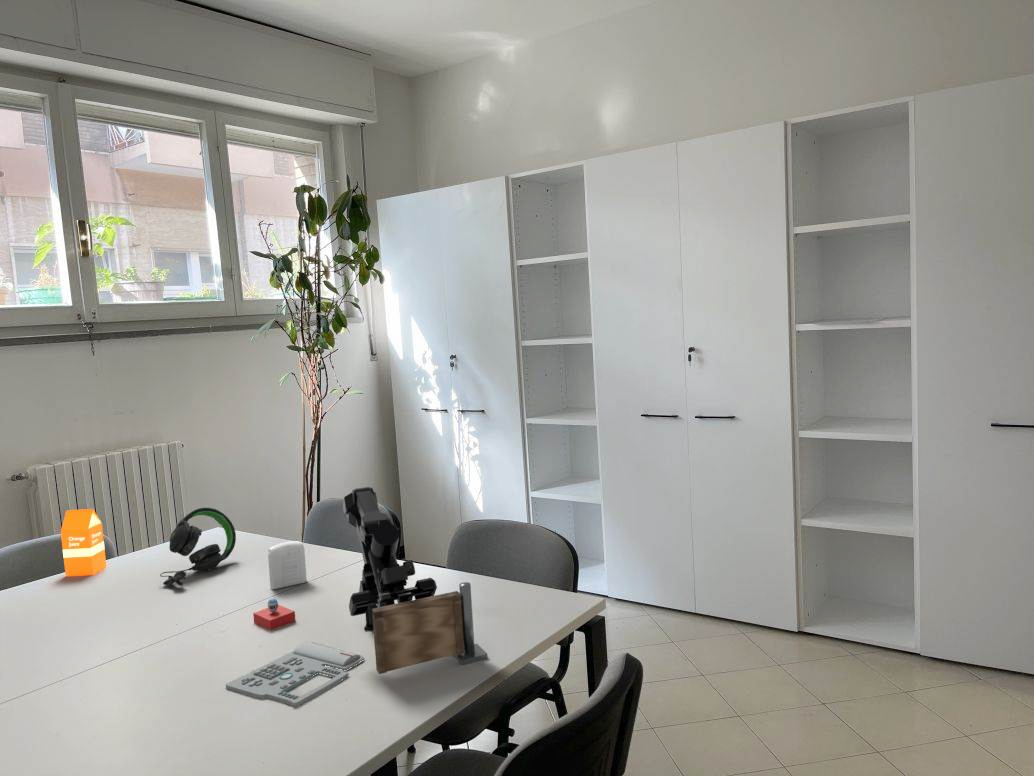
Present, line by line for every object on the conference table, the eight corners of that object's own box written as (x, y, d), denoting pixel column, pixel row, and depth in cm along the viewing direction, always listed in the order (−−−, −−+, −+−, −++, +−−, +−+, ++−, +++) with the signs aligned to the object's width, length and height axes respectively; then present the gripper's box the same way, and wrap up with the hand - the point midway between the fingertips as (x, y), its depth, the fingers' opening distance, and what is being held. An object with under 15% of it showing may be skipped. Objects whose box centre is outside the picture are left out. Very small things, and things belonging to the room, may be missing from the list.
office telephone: (310, 636, 176) (375, 651, 165) (311, 647, 176) (376, 663, 166) (224, 678, 157) (291, 698, 146) (225, 690, 157) (292, 712, 146)
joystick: (295, 622, 191) (293, 597, 190) (270, 631, 186) (268, 606, 185) (278, 615, 196) (276, 591, 195) (254, 623, 191) (251, 599, 190)
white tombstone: (304, 578, 223) (300, 537, 222) (309, 582, 219) (305, 540, 218) (268, 587, 217) (264, 544, 216) (272, 591, 214) (269, 547, 212)
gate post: (477, 647, 169) (472, 577, 167) (487, 658, 163) (483, 585, 162) (451, 654, 166) (446, 582, 165) (461, 664, 161) (456, 591, 160)
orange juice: (93, 575, 238) (86, 512, 236) (65, 576, 238) (58, 513, 236) (107, 566, 245) (100, 505, 244) (79, 568, 246) (73, 507, 244)
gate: (460, 649, 165) (456, 590, 164) (464, 653, 163) (460, 594, 162) (376, 670, 158) (371, 608, 156) (379, 674, 156) (374, 612, 154)
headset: (180, 609, 228) (236, 539, 250) (202, 597, 220) (258, 526, 242) (133, 570, 223) (195, 502, 245) (154, 556, 215) (215, 488, 238)
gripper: (347, 557, 163) (363, 625, 154) (431, 542, 170) (451, 606, 161) (342, 582, 171) (357, 648, 162) (422, 567, 178) (441, 629, 169)
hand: (402, 632), depth 163 cm, fingers closed
